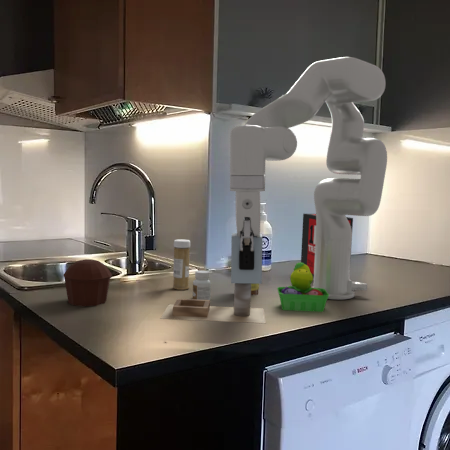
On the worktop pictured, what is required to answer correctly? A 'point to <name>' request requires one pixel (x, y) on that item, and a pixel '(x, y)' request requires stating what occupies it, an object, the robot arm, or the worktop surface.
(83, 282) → the muffin
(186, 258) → the sprinkles bottle
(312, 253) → the cleaning product box
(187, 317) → the board
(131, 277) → the worktop surface
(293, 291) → the fruit basket
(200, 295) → the pill bottle
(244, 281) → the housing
